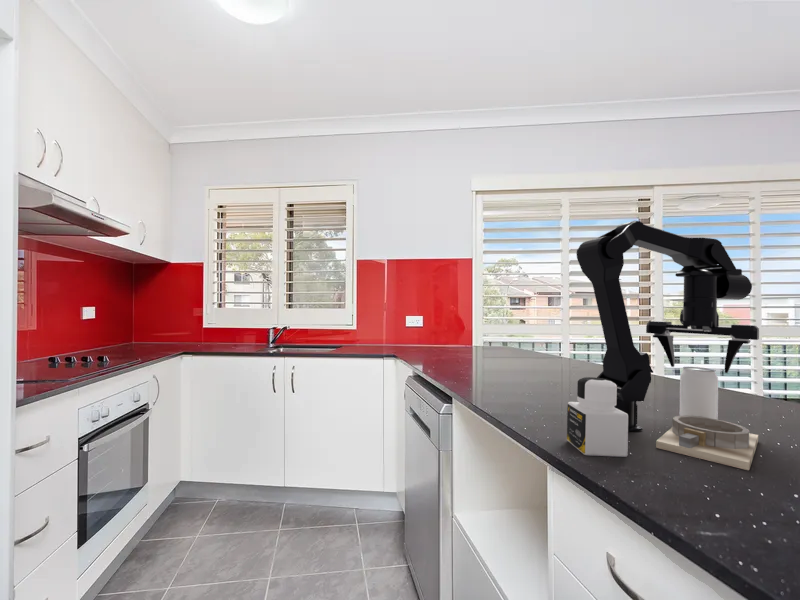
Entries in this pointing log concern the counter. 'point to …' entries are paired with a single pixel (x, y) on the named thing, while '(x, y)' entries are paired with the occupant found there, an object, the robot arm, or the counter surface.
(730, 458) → the board
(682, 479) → the counter surface
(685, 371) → the can
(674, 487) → the counter surface
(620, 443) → the medicine bottle
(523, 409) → the counter surface
